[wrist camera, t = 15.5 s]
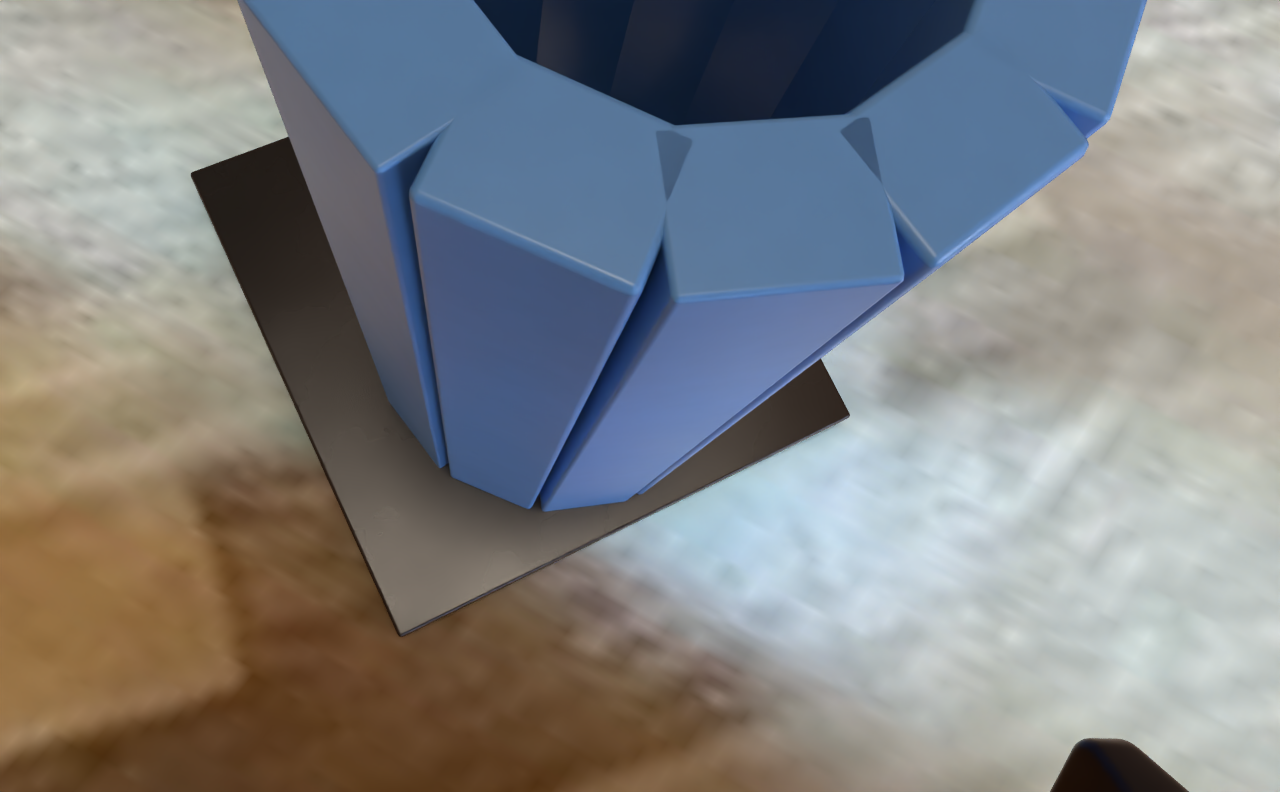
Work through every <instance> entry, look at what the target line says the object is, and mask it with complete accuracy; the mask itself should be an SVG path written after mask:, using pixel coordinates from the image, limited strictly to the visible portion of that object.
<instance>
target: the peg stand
mask: <svg viewBox="0 0 1280 792" xmlns="http://www.w3.org/2000/svg"><path fill="white" fill-rule="evenodd" d="M191 178H192V180H193V182H194V184H195V186H196V189H197V191H198V193H199V195H200V198H201V200H202V202H203V204H204V206H205V209H206V211H207V213H208V215H209V217H210V220H211V222H212V224H213V226H214V229H215V231H216V233H217V235H218V237H219V240H220V242H221V244H222V246H223V248H224V251H225V253H226V255H227V257H228V260H229V262H230V264H231V266H232V268H233V271H234V273H235V275H236V277H237V279H238V282H239V284H240V286H241V288H242V291H243V293H244V295H245V297H246V299H247V302H248V304H249V306H250V308H251V310H252V313H253V315H254V317H255V319H256V322H257V324H258V326H259V328H260V330H261V333H262V335H263V337H264V339H265V341H266V344H267V346H268V348H269V350H270V353H271V355H272V357H273V359H274V361H275V364H276V366H277V368H278V370H279V372H280V375H281V377H282V379H283V381H284V384H285V386H286V388H287V390H288V392H289V395H290V397H291V399H292V401H293V403H294V406H295V408H296V410H297V412H298V415H299V417H300V419H301V421H302V423H303V426H304V428H305V430H306V432H307V434H308V437H309V439H310V441H311V443H312V446H313V448H314V450H315V452H316V454H317V457H318V459H319V461H320V463H321V465H322V468H323V470H324V472H325V474H326V477H327V479H328V481H329V483H330V485H331V488H332V490H333V492H334V494H335V496H336V499H337V501H338V503H339V505H340V508H341V510H342V512H343V514H344V516H345V519H346V521H347V523H348V525H349V527H350V530H351V532H352V534H353V536H354V539H355V541H356V543H357V545H358V547H359V550H360V552H361V554H362V556H363V558H364V561H365V563H366V565H367V567H368V570H369V572H370V574H371V576H372V578H373V581H374V583H375V585H376V587H377V589H378V592H379V594H380V596H381V598H382V601H383V603H384V605H385V607H386V609H387V612H388V614H389V616H390V618H391V620H392V623H393V625H394V627H395V629H396V632H397V634H398V635H399V636H400V637H402V636H406V635H408V634H410V633H412V632H414V631H416V630H418V629H420V628H422V627H424V626H426V625H428V624H430V623H432V622H434V621H436V620H438V619H440V618H442V617H445V616H447V615H449V614H451V613H453V612H455V611H457V610H459V609H461V608H463V607H465V606H467V605H469V604H471V603H473V602H475V601H477V600H479V599H481V598H483V597H485V596H487V595H489V594H491V593H493V592H495V591H497V590H500V589H502V588H504V587H506V586H508V585H510V584H512V583H514V582H516V581H518V580H520V579H522V578H524V577H526V576H528V575H530V574H532V573H534V572H536V571H538V570H540V569H542V568H544V567H546V566H548V565H550V564H552V563H554V562H557V561H559V560H561V559H563V558H565V557H567V556H569V555H571V554H573V553H575V552H577V551H579V550H581V549H583V548H585V547H587V546H589V545H591V544H593V543H595V542H597V541H599V540H601V539H603V538H605V537H607V536H609V535H612V534H614V533H616V532H618V531H620V530H622V529H624V528H626V527H628V526H630V525H632V524H634V523H636V522H638V521H640V520H642V519H644V518H646V517H648V516H650V515H652V514H654V513H656V512H658V511H660V510H662V509H664V508H666V507H669V506H671V505H673V504H675V503H677V502H679V501H681V500H683V499H685V498H687V497H689V496H691V495H693V494H695V493H697V492H699V491H701V490H703V489H705V488H707V487H709V486H711V485H713V484H715V483H717V482H719V481H721V480H724V479H726V478H728V477H730V476H732V475H734V474H736V473H738V472H740V471H742V470H744V469H746V468H748V467H750V466H752V465H754V464H756V463H758V462H760V461H762V460H764V459H766V458H768V457H770V456H772V455H774V454H776V453H778V452H781V451H783V450H785V449H787V448H789V447H791V446H793V445H795V444H797V443H799V442H801V441H803V440H805V439H807V438H809V437H811V436H813V435H815V434H817V433H819V432H821V431H823V430H825V429H827V428H829V427H831V426H833V425H836V424H838V423H839V422H841V421H843V420H845V419H847V418H848V417H849V416H850V414H849V412H848V410H847V408H846V406H845V404H844V402H843V400H842V398H841V396H840V395H839V393H838V391H837V389H836V387H835V385H834V383H833V381H832V379H831V377H830V375H829V373H828V372H827V370H826V368H825V366H824V364H823V362H822V360H821V358H820V359H819V360H818V361H816V362H815V363H814V364H812V365H811V366H810V367H808V368H807V369H806V370H804V371H803V372H802V373H801V374H799V375H798V376H797V377H795V378H794V379H793V380H791V381H790V382H789V383H787V384H786V385H785V386H783V387H782V388H781V389H780V390H778V391H777V392H776V393H774V394H773V395H772V396H770V397H769V398H768V399H766V400H765V401H764V402H762V403H761V404H760V405H758V406H757V407H756V408H755V409H753V410H752V411H751V412H749V413H748V414H747V415H745V416H744V417H743V418H741V419H740V420H739V421H737V422H736V423H735V424H734V425H732V426H731V427H730V428H728V429H727V430H726V431H724V432H723V433H722V434H720V435H719V436H718V437H716V438H715V439H714V440H712V441H711V442H710V443H709V444H707V445H706V446H705V447H703V448H702V449H701V450H699V451H698V452H697V453H695V454H694V455H693V456H691V457H690V458H689V459H688V460H686V461H685V462H684V463H682V464H681V465H680V466H678V467H677V468H676V469H674V470H673V471H672V472H670V473H669V474H668V475H666V476H665V477H664V478H663V479H661V480H660V481H659V482H657V483H656V484H655V485H653V486H652V487H651V488H649V489H648V490H647V491H645V492H644V493H643V494H640V495H639V494H637V493H636V494H634V495H633V496H632V497H631V498H629V499H628V500H627V501H625V502H617V503H609V504H601V505H594V506H586V507H578V508H570V509H562V510H554V511H546V512H545V511H542V509H541V500H540V492H539V494H538V496H537V498H536V500H535V502H534V504H533V506H532V507H531V508H530V509H526V508H524V507H521V506H519V505H517V504H514V503H512V502H509V501H507V500H505V499H502V498H500V497H498V496H495V495H493V494H490V493H488V492H486V491H483V490H481V489H478V488H476V487H474V486H471V485H469V484H467V483H464V482H462V481H459V480H457V479H455V478H453V477H452V476H451V475H450V469H449V463H448V464H446V465H445V466H443V467H442V468H439V467H438V466H437V465H436V464H435V462H434V461H433V460H432V458H431V457H430V456H429V454H428V453H427V452H426V450H425V449H424V448H423V446H422V445H421V444H420V442H419V441H418V440H417V438H416V437H415V436H414V434H413V433H412V432H411V430H410V429H409V428H408V426H407V425H406V424H405V422H404V421H403V420H402V418H401V417H400V416H399V414H398V413H397V412H396V410H395V409H394V408H393V406H392V405H391V404H390V402H389V401H388V398H387V396H386V393H385V390H384V388H383V385H382V382H381V380H380V377H379V374H378V372H377V369H376V366H375V364H374V361H373V358H372V356H371V353H370V350H369V348H368V345H367V342H366V340H365V337H364V335H363V332H362V329H361V327H360V324H359V321H358V319H357V316H356V313H355V311H354V308H353V305H352V303H351V300H350V297H349V295H348V292H347V289H346V287H345V284H344V282H343V279H342V276H341V274H340V271H339V268H338V266H337V263H336V260H335V258H334V255H333V252H332V250H331V247H330V244H329V242H328V239H327V236H326V234H325V231H324V229H323V226H322V223H321V221H320V218H319V215H318V213H317V210H316V207H315V205H314V202H313V199H312V197H311V194H310V191H309V189H308V186H307V183H306V181H305V178H304V176H303V173H302V170H301V168H300V165H299V162H298V160H297V157H296V154H295V152H294V149H293V146H292V144H291V141H290V138H289V137H287V138H284V139H281V140H279V141H276V142H273V143H270V144H268V145H265V146H262V147H260V148H257V149H254V150H251V151H249V152H246V153H243V154H241V155H238V156H235V157H232V158H230V159H227V160H224V161H222V162H219V163H216V164H213V165H211V166H208V167H205V168H203V169H200V170H197V171H194V172H192V173H191Z"/></svg>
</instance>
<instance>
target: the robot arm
mask: <svg viewBox="0 0 1280 792" xmlns="http://www.w3.org/2000/svg"><path fill="white" fill-rule="evenodd" d="M1050 792H1189V791H1188V790H1186V789H1185V788H1184V787H1183V786H1182V785H1181V784H1179V783H1178V782H1177V781H1176V780H1175V779H1174V778H1172V777H1171V776H1170V775H1169V774H1168V773H1167V772H1165V771H1164V770H1163V769H1162V768H1161V767H1160V766H1159V765H1157V764H1156V763H1155V762H1154V761H1153V760H1152V759H1150V758H1149V757H1148V756H1147V755H1146V754H1145V753H1143V752H1142V751H1141V750H1140V749H1139V748H1137V747H1136V746H1135V745H1133V744H1132V743H1130V742H1128V741H1125V740H1122V739H1100V738H1087V739H1083V740H1081V741H1079V742H1078V743H1077V744H1076V745H1075V746H1074V748H1073V749H1072V751H1071V753H1070V755H1069V757H1068V759H1067V761H1066V762H1065V764H1064V766H1063V768H1062V770H1061V772H1060V774H1059V776H1058V778H1057V780H1056V781H1055V783H1054V785H1053V787H1052V789H1051V791H1050Z"/></svg>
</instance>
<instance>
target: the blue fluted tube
mask: <svg viewBox="0 0 1280 792" xmlns="http://www.w3.org/2000/svg"><path fill="white" fill-rule="evenodd" d="M237 1H238V3H239V6H240V9H241V11H242V14H243V16H244V19H245V22H246V24H247V27H248V30H249V32H250V35H251V38H252V40H253V43H254V46H255V48H256V51H257V54H258V56H259V59H260V62H261V64H262V67H263V69H264V72H265V75H266V77H267V80H268V83H269V85H270V88H271V91H272V93H273V96H274V99H275V101H276V104H277V107H278V109H279V112H280V115H281V117H282V120H283V122H284V125H285V128H286V130H287V133H288V136H289V138H290V141H291V144H292V146H293V149H294V152H295V154H296V157H297V160H298V162H299V165H300V168H301V170H302V173H303V176H304V178H305V181H306V183H307V186H308V189H309V191H310V194H311V197H312V199H313V202H314V205H315V207H316V210H317V213H318V215H319V218H320V221H321V223H322V226H323V229H324V231H325V234H326V236H327V239H328V242H329V244H330V247H331V250H332V252H333V255H334V258H335V260H336V263H337V266H338V268H339V271H340V274H341V276H342V279H343V282H344V284H345V287H346V289H347V292H348V295H349V297H350V300H351V303H352V305H353V308H354V311H355V313H356V316H357V319H358V321H359V324H360V327H361V329H362V332H363V335H364V337H365V340H366V342H367V345H368V348H369V350H370V353H371V356H372V358H373V361H374V364H375V366H376V369H377V372H378V374H379V377H380V380H381V382H382V385H383V388H384V390H385V393H386V396H387V398H388V401H389V402H390V404H391V405H392V406H393V408H394V409H395V410H396V412H397V413H398V414H399V416H400V417H401V418H402V420H403V421H404V422H405V424H406V425H407V426H408V428H409V429H410V430H411V432H412V433H413V434H414V436H415V437H416V438H417V440H418V441H419V442H420V444H421V445H422V446H423V448H424V449H425V450H426V452H427V453H428V454H429V456H430V457H431V458H432V460H433V461H434V462H435V464H436V465H437V466H438V467H439V468H442V467H443V466H445V465H446V464H448V463H449V469H450V475H451V476H452V477H453V478H455V479H457V480H459V481H462V482H464V483H467V484H469V485H471V486H474V487H476V488H478V489H481V490H483V491H486V492H488V493H490V494H493V495H495V496H498V497H500V498H502V499H505V500H507V501H509V502H512V503H514V504H517V505H519V506H521V507H524V508H526V509H530V508H531V507H532V506H533V504H534V502H535V500H536V498H537V496H538V494H539V492H540V500H541V509H542V511H545V512H546V511H554V510H562V509H570V508H578V507H586V506H594V505H601V504H609V503H617V502H625V501H627V500H628V499H629V498H631V497H632V496H633V495H634V494H636V493H637V494H639V495H640V494H643V493H644V492H645V491H647V490H648V489H649V488H651V487H652V486H653V485H655V484H656V483H657V482H659V481H660V480H661V479H663V478H664V477H665V476H666V475H668V474H669V473H670V472H672V471H673V470H674V469H676V468H677V467H678V466H680V465H681V464H682V463H684V462H685V461H686V460H688V459H689V458H690V457H691V456H693V455H694V454H695V453H697V452H698V451H699V450H701V449H702V448H703V447H705V446H706V445H707V444H709V443H710V442H711V441H712V440H714V439H715V438H716V437H718V436H719V435H720V434H722V433H723V432H724V431H726V430H727V429H728V428H730V427H731V426H732V425H734V424H735V423H736V422H737V421H739V420H740V419H741V418H743V417H744V416H745V415H747V414H748V413H749V412H751V411H752V410H753V409H755V408H756V407H757V406H758V405H760V404H761V403H762V402H764V401H765V400H766V399H768V398H769V397H770V396H772V395H773V394H774V393H776V392H777V391H778V390H780V389H781V388H782V387H783V386H785V385H786V384H787V383H789V382H790V381H791V380H793V379H794V378H795V377H797V376H798V375H799V374H801V373H802V372H803V371H804V370H806V369H807V368H808V367H810V366H811V365H812V364H814V363H815V362H816V361H818V360H819V359H820V358H822V357H823V356H824V355H826V354H827V353H828V352H829V351H831V350H832V349H833V348H835V347H836V346H837V345H839V344H840V343H841V342H843V341H844V340H845V339H847V338H848V337H849V336H850V335H852V334H853V333H854V332H856V331H857V330H858V329H860V328H861V327H862V326H864V325H865V324H866V323H868V322H869V321H870V320H872V319H873V318H874V317H875V316H877V315H878V314H879V313H881V312H882V311H883V310H885V309H886V308H887V307H889V306H890V305H891V304H893V303H894V302H895V301H896V300H898V299H899V298H900V297H902V296H903V295H904V294H906V293H907V292H908V291H910V290H911V289H912V288H914V287H915V286H916V285H918V284H919V283H920V282H921V281H923V280H924V279H925V278H927V277H928V276H929V275H931V274H932V273H933V272H935V271H936V270H937V269H939V268H940V267H941V266H942V265H944V264H945V263H946V262H948V261H949V260H950V259H951V258H953V257H954V256H955V255H957V254H958V253H959V252H960V251H962V250H963V249H964V248H966V247H967V246H968V245H970V244H971V243H972V242H973V241H975V240H976V239H977V238H979V237H980V236H981V235H982V234H984V233H985V232H986V231H988V230H989V229H990V228H991V227H993V226H994V225H995V224H997V223H998V222H999V221H1000V220H1002V219H1003V218H1004V217H1006V216H1007V215H1008V214H1009V213H1011V212H1012V211H1013V210H1015V209H1016V208H1017V207H1019V206H1020V205H1021V204H1022V203H1024V202H1025V201H1026V200H1028V199H1029V198H1030V197H1031V196H1033V195H1034V194H1035V193H1037V192H1038V191H1039V190H1040V189H1042V188H1043V187H1044V186H1046V185H1047V184H1048V183H1049V182H1051V181H1052V180H1053V179H1055V178H1056V177H1057V176H1058V175H1060V174H1061V173H1062V172H1064V171H1065V170H1066V169H1068V168H1069V167H1070V166H1071V165H1073V164H1074V163H1075V162H1077V161H1078V160H1079V159H1080V158H1082V157H1083V156H1084V154H1085V152H1086V150H1087V148H1088V146H1089V144H1088V142H1087V138H1088V137H1090V136H1091V135H1092V134H1093V133H1095V132H1096V131H1097V130H1098V129H1100V128H1101V127H1102V126H1104V125H1105V124H1106V123H1107V122H1108V121H1109V120H1110V117H1111V114H1112V111H1113V108H1114V104H1115V101H1116V98H1117V95H1118V92H1119V88H1120V85H1121V82H1122V79H1123V75H1124V72H1125V69H1126V66H1127V63H1128V59H1129V56H1130V53H1131V50H1132V47H1133V43H1134V40H1135V37H1136V34H1137V31H1138V27H1139V24H1140V21H1141V18H1142V14H1143V11H1144V8H1145V5H1146V2H1147V0H237Z"/></svg>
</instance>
